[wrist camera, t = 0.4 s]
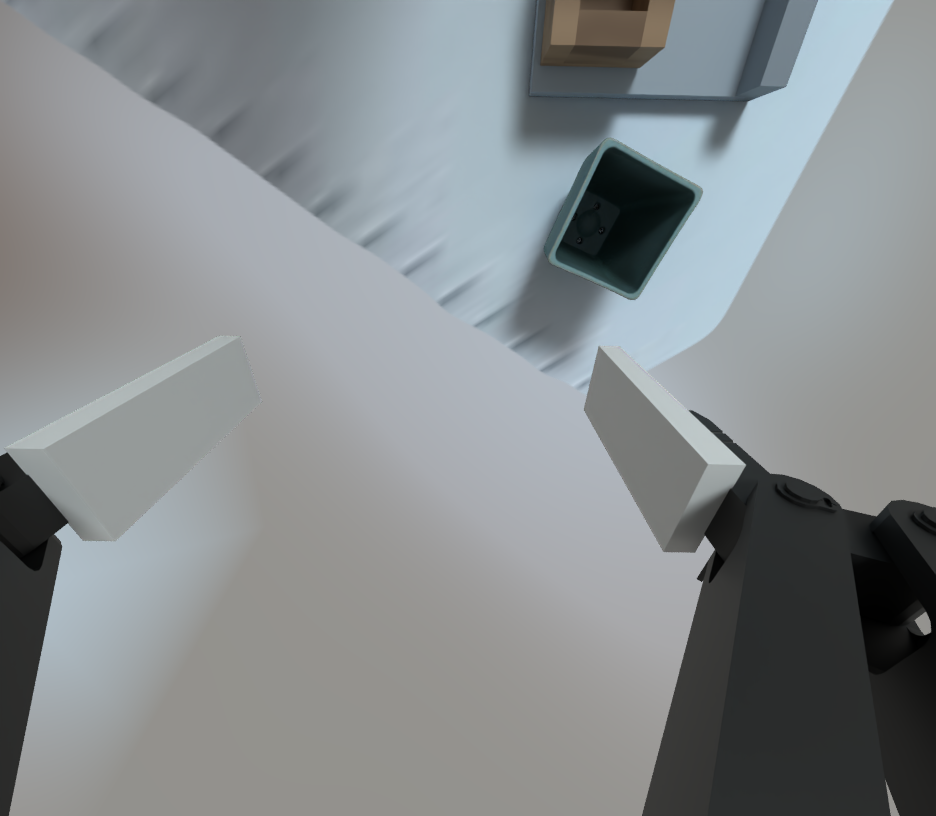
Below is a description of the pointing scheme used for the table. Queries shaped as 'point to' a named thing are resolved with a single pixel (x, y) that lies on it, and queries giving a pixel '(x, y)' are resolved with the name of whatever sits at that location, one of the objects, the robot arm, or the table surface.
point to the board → (694, 55)
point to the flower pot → (620, 219)
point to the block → (604, 32)
